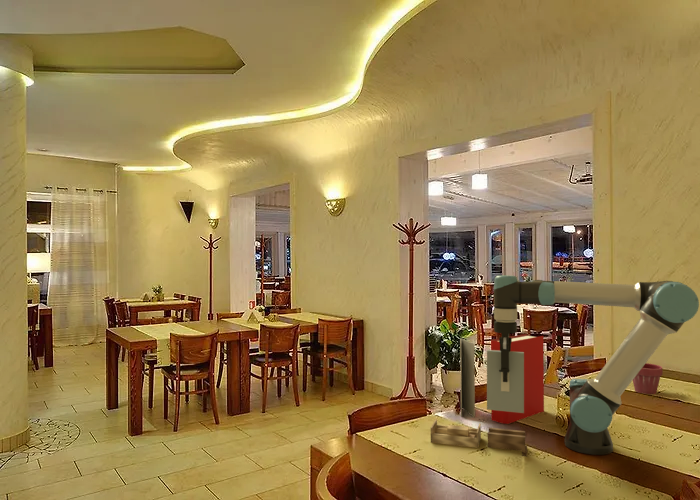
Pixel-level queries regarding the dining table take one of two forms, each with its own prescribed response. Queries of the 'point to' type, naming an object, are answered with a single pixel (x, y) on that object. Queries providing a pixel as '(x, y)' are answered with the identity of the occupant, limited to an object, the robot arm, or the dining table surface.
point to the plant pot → (648, 379)
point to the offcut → (458, 430)
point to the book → (526, 377)
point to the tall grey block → (467, 376)
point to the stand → (507, 439)
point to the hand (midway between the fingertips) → (505, 390)
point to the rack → (441, 436)
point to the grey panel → (515, 396)
